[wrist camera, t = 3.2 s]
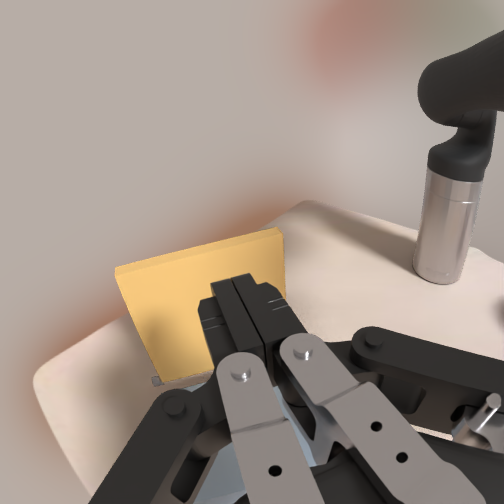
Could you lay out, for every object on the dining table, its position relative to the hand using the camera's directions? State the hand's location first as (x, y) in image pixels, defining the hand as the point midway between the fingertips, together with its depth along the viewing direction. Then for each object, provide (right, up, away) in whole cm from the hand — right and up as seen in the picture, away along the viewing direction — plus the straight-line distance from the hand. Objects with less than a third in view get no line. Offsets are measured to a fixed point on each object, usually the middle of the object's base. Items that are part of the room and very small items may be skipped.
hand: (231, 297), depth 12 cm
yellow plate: (-2, -9, +19) cm, 21 cm away
